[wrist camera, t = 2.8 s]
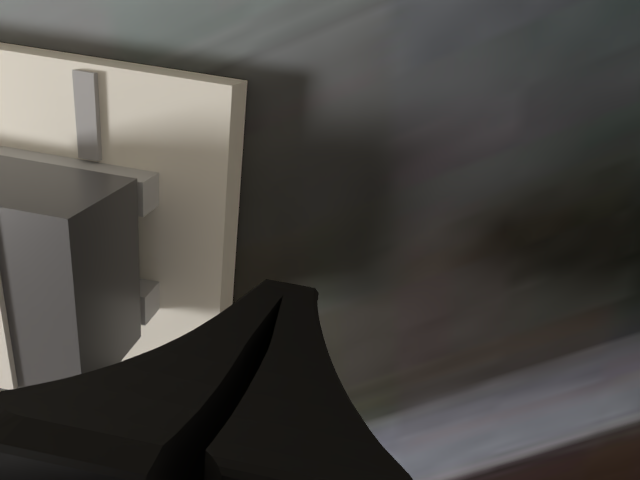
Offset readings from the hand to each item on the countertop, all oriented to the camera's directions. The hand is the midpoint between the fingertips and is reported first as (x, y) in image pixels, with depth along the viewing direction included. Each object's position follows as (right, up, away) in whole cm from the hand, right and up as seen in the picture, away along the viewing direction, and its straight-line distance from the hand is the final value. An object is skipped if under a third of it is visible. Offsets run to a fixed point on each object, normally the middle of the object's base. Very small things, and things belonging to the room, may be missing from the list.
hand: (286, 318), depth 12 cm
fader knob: (-6, +2, +3) cm, 7 cm away
